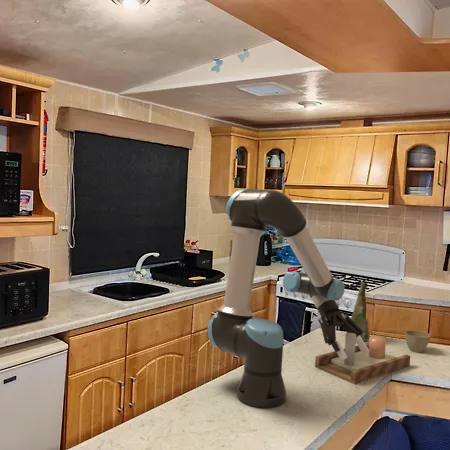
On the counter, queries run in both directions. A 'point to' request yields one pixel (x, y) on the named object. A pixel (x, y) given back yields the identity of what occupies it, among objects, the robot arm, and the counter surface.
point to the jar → (377, 347)
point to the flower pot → (417, 340)
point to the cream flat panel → (357, 356)
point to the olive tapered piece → (361, 313)
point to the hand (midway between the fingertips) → (355, 356)
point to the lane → (362, 373)
